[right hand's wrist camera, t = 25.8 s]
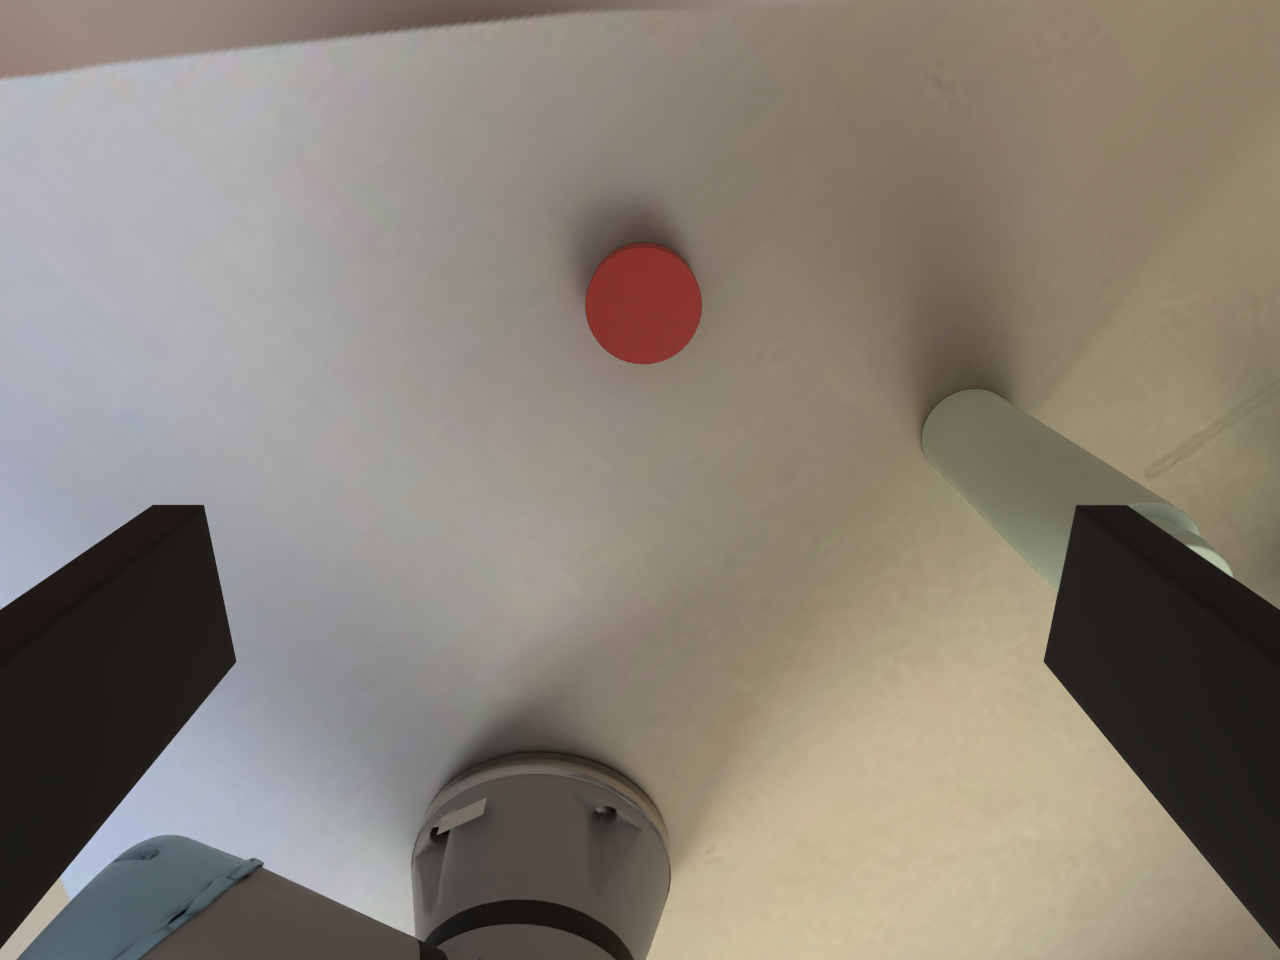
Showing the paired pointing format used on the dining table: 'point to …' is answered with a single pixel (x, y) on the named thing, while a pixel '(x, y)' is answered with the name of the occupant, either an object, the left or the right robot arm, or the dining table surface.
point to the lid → (643, 303)
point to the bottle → (1036, 479)
